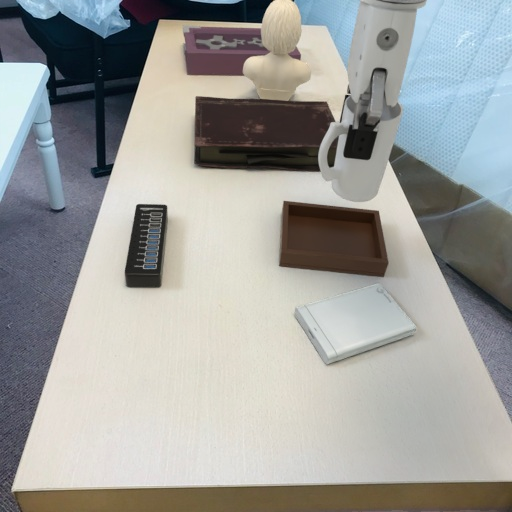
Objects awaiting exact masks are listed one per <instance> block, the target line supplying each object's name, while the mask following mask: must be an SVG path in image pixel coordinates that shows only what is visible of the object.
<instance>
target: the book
mask: <svg viewBox="0 0 512 512" xmlns="http://www.w3.org/2000/svg"><path fill="white" fill-rule="evenodd" d="M182 34H183V37H184V43H183V44H182V47H183V54H184V60H185V67H186V73H187V75H189V76H245V75H244V74H243V66H244V63H245V61H246V60H247V59H248V58H250V57H253V56H262V55H263V56H264V55H267V54H268V53H270V52H271V51H269V50H267V48H266V47H264V45H263V43H262V37H261V27H229V26H201V25H182ZM288 55H289V56H290V57H292V58H293V59H298V60H300V61H302V60H301V59H302V54H301V52H300V50H299V48H298V47H297V46H296V48H295V50H294V51H292V52H290V53H288Z"/></svg>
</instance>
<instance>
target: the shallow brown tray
mask: <svg viewBox="0 0 512 512" xmlns="http://www.w3.org/2000/svg"><path fill="white" fill-rule="evenodd" d="M278 261H279V262H278V266H279V267H284V268H285V267H286V268H295V269H303V270H314V271H315V270H316V271H323V272H333V273H340V274H341V273H343V274H350V275H351V274H352V275H361V276H372V277H379V278H384V277H385V276H386V272H387V269H388V266H389V258H388V253H387V247H386V242H385V237H384V231H383V225H382V221H381V215H380V210H375V209H367V208H357V207H347V206H338V205H328V204H318V203H310V202H309V203H308V202H300V201H289V200H283V201H282V208H281V217H280V238H279V259H278Z"/></svg>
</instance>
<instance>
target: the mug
mask: <svg viewBox="0 0 512 512" xmlns="http://www.w3.org/2000/svg"><path fill="white" fill-rule="evenodd" d="M349 95H350V96H349V97H348V98H347V99H346V100H345V105H344V110H343V115H342V121H341V123H340V121H336V122H331V123H330V127H329V129H328V131H327V133H326V135H325V137H324V139H323V141H322V143H321V146H320V149H319V154H318V162H319V167H320V171H319V172H320V175H321V177H322V179H323V180H324V181H325V182H330V181H331V188H332V190H333V192H334V193H335V194H336V195H337V196H338V197H340V198H341V199H343V200H345V201H349V202H353V203H366V202H369V201H371V200H373V199H374V198H375V197H377V195H378V193H379V191H380V188H381V184H382V181H383V179H384V175H385V173H386V169H387V166H388V162H389V159H390V157H391V153H392V150H393V146H394V144H395V140H396V137H397V133H398V130H399V127H400V123H401V119H402V116H403V113H404V107H403V105H402V104H401V103H400V101H399V100H398V101H397V104H396V105H395V106H394V107H389V105H386V101H385V97H384V99H383V110H382V115H381V117H380V123H379V129H378V133H377V137H376V140H375V144H374V148H373V151H372V155H371V158H370V159H369V160H361V159H351V158H345V157H344V156H343V151H344V147H345V142H346V138H347V134H348V129H349V125H353V118H354V111H355V105H356V103H355V102H354V101H353V99H352V98H351V94H349ZM362 100H369V95H366V94H362ZM367 109H368V106H362V108H361V114H360V117H361V115H362V114H363V113H367ZM338 136H339V140H338V146H337V152H336V158H335V164H334V167H331V168H329V166H328V163H327V154H328V150H329V147H330V145H331V143H332V142H333V141H334V139H335V138H336V137H338Z"/></svg>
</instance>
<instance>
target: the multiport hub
mask: <svg viewBox="0 0 512 512" xmlns="http://www.w3.org/2000/svg"><path fill="white" fill-rule="evenodd" d="M133 215H134V216H133V223H132V227H131V233H130V238H129V245H128V249H127V250H128V251H127V255H126V262H125V267H124V268H125V269H124V280H125V286H126V287H127V288H160V287H161V286H162V282H163V274H164V273H163V272H164V261H165V251H166V243H167V232H168V231H167V230H168V221H169V214H168V205H167V204H162V203H161V204H158V203H156V204H154V203H138V204H136V205H135V210H134V214H133Z"/></svg>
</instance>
